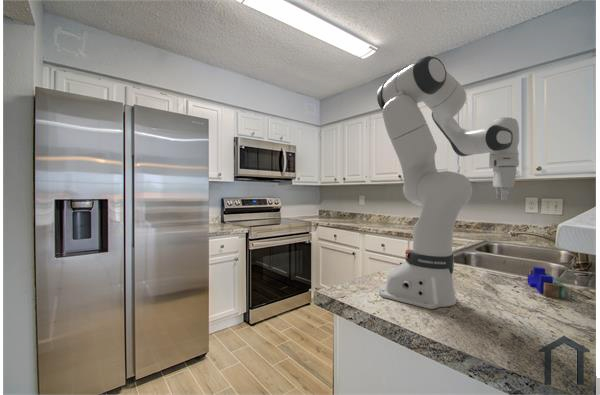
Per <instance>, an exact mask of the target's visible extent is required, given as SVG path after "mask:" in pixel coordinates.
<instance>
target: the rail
mask: <svg viewBox="0 0 600 395" xmlns="http://www.w3.org/2000/svg"><path fill="white" fill-rule="evenodd" d="M528 273H529V275H533V269H532V268H529V272H528ZM545 275H547V276H552V277H553V284H552V283H544V290H543V294H542V295H543V296H544V297H547V298H548V297H549V298H554V299H562V300H565V292H566V286H565V285H564V284H563V283H562V282H560V281H559V280H558V279H557V278H555V277H554V276H553V275H551V274H550V273H549V272H548V271H547V270H545Z"/></svg>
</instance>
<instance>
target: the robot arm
mask: <svg viewBox="0 0 600 395" xmlns="http://www.w3.org/2000/svg"><path fill="white" fill-rule="evenodd" d="M376 99H377V103H378V107H380V109H381V111H382V112H381V114H382V118H383V119H382V120H383V123H384V126H385V130H386V132H387V135H388V138H389V140H390V142H391V146H392V147H393V149H394V151H395V154H396V156H397V158H398V160H399V163H400V167H401V171H402V178H403V186H402V192H403V196H404V198H405V199H406V200H407V201H409V202H410V203H412V204H413V205H416V206H420V207H421V211H420V216H419V218H418V220H417V222H416V223H415V224H414V225H413V229H412V231H413V232H412V249H411V248H407V249H405V261H404V262H402V263H401V264H399V265H397V266H396V267H394V268H393V269H391V270H390V271H389V273H388V275H387V277H386V281H385V282H383V283H382V284H380V287H379V289H378V293H379V295H380V296H381V297H382V298H386V299H390V300H393V301H398V302H401V303H405V304H410V305H413V306H418V307H421V308H426V309H428V310H434V309H438V308H441V307H442V308H443V307H451V306H454V305H455V304H457V302H458V301H457V296H456V292H455V287H454V280H453V273H454V268H455V266H454V265H455V259H454V254H453V241H454V240H453V237H454V236H453V235H454V228H455V224H456V221H457V219H458V216H459V214H460V212H461V210H462V209H463V207H465V206H466V205H467V204H468V203H469V202H470V200H471V198H472V196H473V195H472V194H473V186H472V183H471V181H470V179H469V178H468V177H467V176H466V175H464V174H461V173H459V172H455V171H449V170H444V171H443V170H442V171H438V169H437V167H436V160H435V158H436V157H435V156H436V153H437V150H438V149H437V147H438V146H437V144H436V143H437V142H436V141H435V139H434V137H433V134H432V132H431V130H430V126H429V125H428V123H427V121H426V118H425V116H424V115H423V113H422V111H421V109H420V107H419V105H418V104H419V103H420V102H421V101H422V102H423V103H424V105H426V106H427V108H428V109H429V110H430V111H431V118H432V120H433V122H434V124H435V125H436V127H437V128H438V129H439V130H440V132H441V133H442V134H443V135H444V137H445V138H446V139H447V140H448V142H449V143H450V145H451V148H452V150H453V151H454V153H455V154H456V155H458V156H460V157H467V156H473V155H482V154H489V156H488V157H489V158H488V167H489V168H490V169H492V173H493V175H492V187H493V188H495V193H496V199H497V200H501V201H508V199H509V198H508V196H509V193H510V188H514V187H515V186H514V185H515V183H516V178H517V177H516V175H517V168H518V167H519V165H520V161H519V149H518V148H519V147H518V146H519V143H520V127H519V123H518V122H519V121H518V120H517V119H516V118H513V117H499V118H495V119H494V120H493V121H492V123H490V124H487V125H483V126H480V127H475V128H470V129H469V128H467V129H466V128H463V127H461V126H460V125H459V123H458V122H457V120H456V119H455V117H456V115H458V113H460V112H461V110H462V109H463V107H464V105H465V103H466V100H467V92H466V90H465V88H464V87H463V85H462V84H460V83H459V81H458V80H457V79H456V78H455V77H454V76H453V75H451V74H450V73H449V72H448V71H446V68H445V65H444V63H443V62H442V61H441V60H440V58H438V57H435V56H431V55H427V56H424V57H422V58H419V59H417V60H416V61H414V63H412V64H410V65H408V66H407V67H405V68H404V69H401V70H399V71H398V72H396V73H395V74H394V75H392V77H390V78H389V79H388V80H386V81H384V83H383V84H382V85H381V86H380V87H379V88H378V89H377V95H376Z"/></svg>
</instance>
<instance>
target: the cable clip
mask: <svg viewBox="0 0 600 395" xmlns="http://www.w3.org/2000/svg"><path fill="white" fill-rule="evenodd" d="M532 268H533V275H529V274H527V284H528V286H529V288H535V289H536V290H537V292H538V293H539V294H540V295H543V290H544V283H552V284H553V277H554V276H553V275H552V276H553V277H552V276H547V275H545V271H546V268H545V267H538V266H533V267H532Z"/></svg>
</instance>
